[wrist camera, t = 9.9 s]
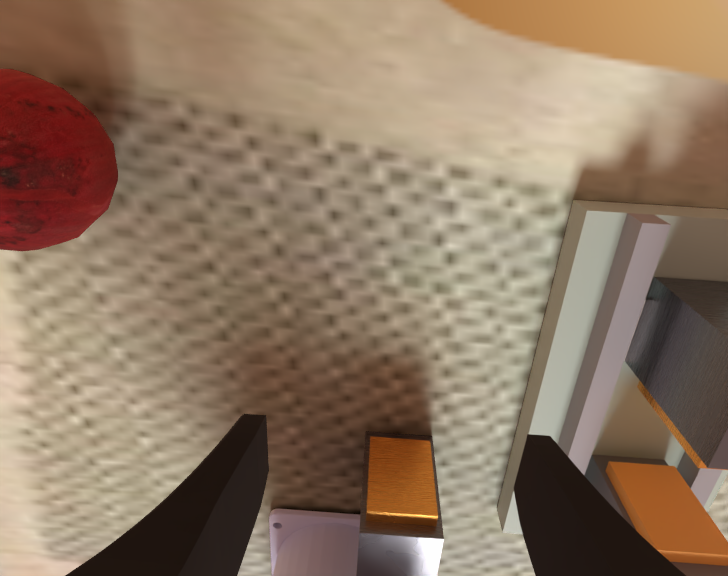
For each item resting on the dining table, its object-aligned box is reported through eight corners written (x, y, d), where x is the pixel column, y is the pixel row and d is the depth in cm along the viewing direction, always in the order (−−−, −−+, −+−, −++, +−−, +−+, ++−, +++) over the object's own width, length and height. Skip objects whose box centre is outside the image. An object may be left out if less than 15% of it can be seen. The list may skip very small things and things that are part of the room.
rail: (674, 522, 27) (769, 677, 20) (496, 509, 27) (532, 658, 20) (824, 215, 19) (1061, 301, 12) (573, 199, 19) (672, 276, 13)
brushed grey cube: (701, 377, 21) (809, 489, 16) (620, 372, 21) (700, 481, 16) (743, 282, 19) (885, 373, 13) (654, 276, 19) (759, 364, 14)
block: (424, 490, 27) (432, 598, 22) (362, 485, 27) (355, 592, 22) (433, 427, 25) (445, 529, 20) (366, 422, 25) (360, 523, 20)
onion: (141, 70, 18) (-24, 79, 11) (162, 217, 21) (40, 304, 13) (-11, 62, 18) (-272, 66, 11) (29, 209, 21) (-162, 291, 13)
